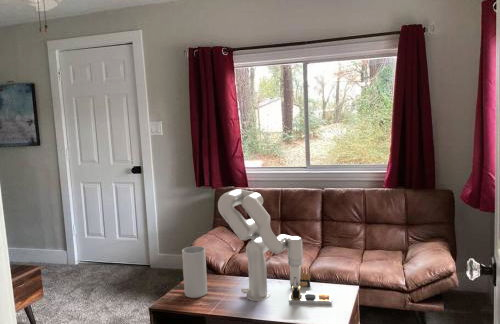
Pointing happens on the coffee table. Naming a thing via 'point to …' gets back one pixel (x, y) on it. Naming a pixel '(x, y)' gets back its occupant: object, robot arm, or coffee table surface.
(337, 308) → the coffee table surface
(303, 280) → the ammunition clip
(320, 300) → the rail
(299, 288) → the gold brushed block
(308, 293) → the grey brushed cube
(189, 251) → the cylinder vase
